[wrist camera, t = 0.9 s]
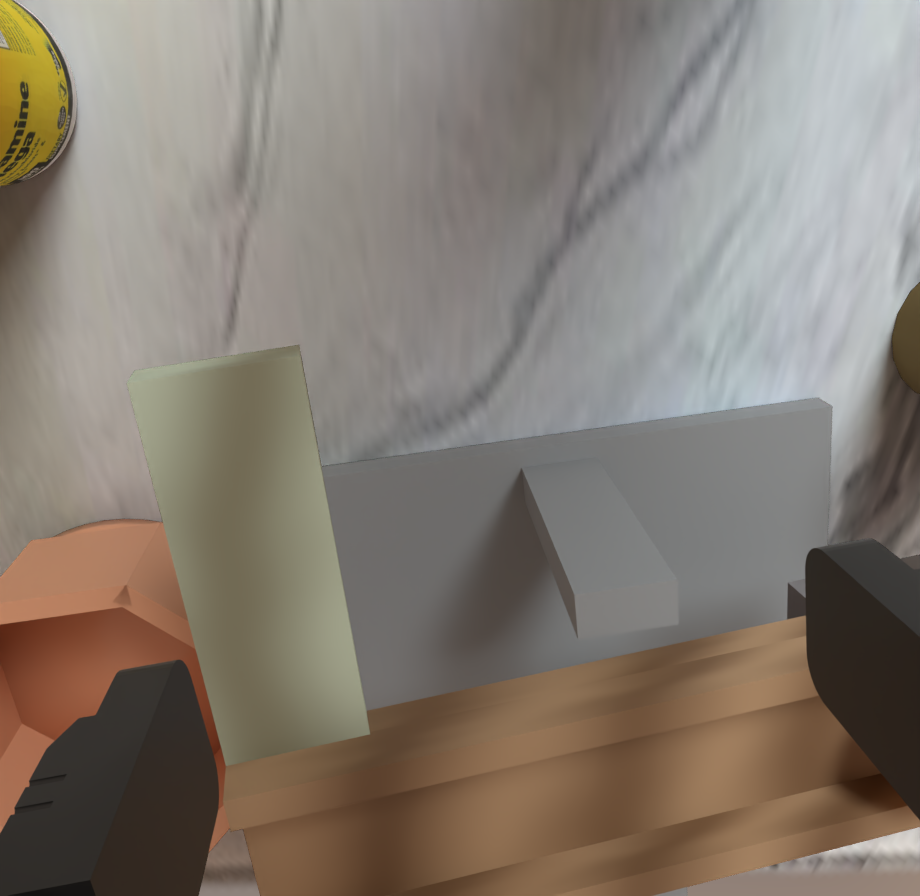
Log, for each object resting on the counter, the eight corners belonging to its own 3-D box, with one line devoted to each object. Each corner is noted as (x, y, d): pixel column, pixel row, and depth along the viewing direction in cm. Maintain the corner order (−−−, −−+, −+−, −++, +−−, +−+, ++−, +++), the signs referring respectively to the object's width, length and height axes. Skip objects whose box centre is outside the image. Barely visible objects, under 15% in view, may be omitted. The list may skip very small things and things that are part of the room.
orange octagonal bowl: (-49, 541, 35) (-132, 621, 29) (254, 499, 35) (231, 569, 30) (37, 783, 39) (-21, 893, 33) (307, 742, 40) (295, 844, 34)
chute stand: (818, 397, 36) (999, 509, 25) (809, 684, 41) (958, 877, 30) (279, 472, 35) (237, 620, 25) (337, 756, 40) (322, 980, 29)
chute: (961, 227, 27) (1089, 243, 22) (920, 718, 33) (1013, 802, 29) (145, 353, 23) (115, 399, 19) (274, 872, 29) (273, 993, 25)
